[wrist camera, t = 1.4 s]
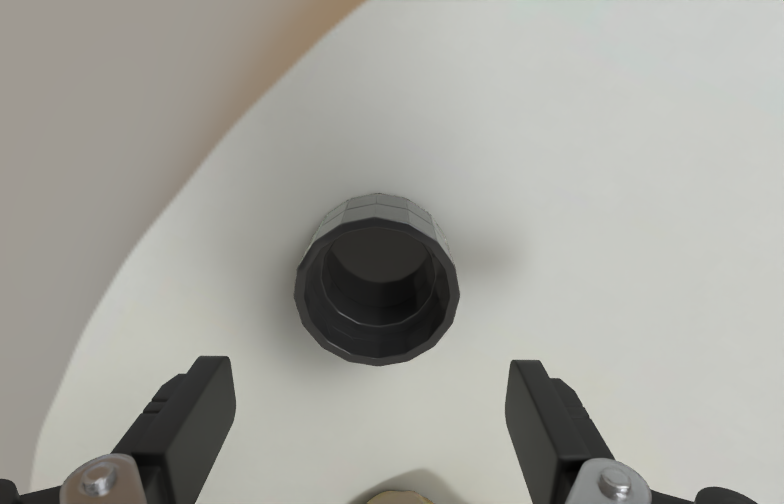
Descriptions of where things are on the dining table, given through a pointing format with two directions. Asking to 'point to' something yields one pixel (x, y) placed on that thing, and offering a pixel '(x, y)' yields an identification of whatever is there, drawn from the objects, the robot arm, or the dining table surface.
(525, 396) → the robot arm
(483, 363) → the dining table surface
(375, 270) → the black bowl
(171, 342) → the dining table surface
